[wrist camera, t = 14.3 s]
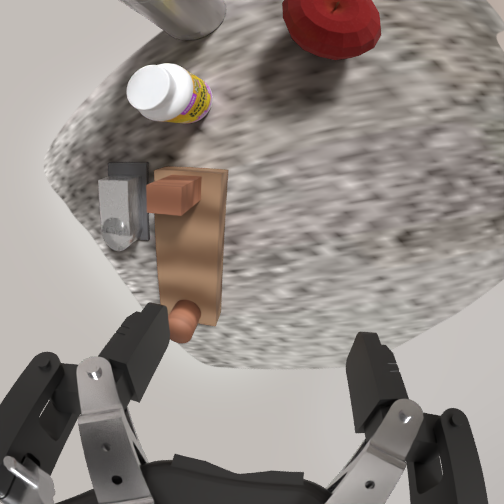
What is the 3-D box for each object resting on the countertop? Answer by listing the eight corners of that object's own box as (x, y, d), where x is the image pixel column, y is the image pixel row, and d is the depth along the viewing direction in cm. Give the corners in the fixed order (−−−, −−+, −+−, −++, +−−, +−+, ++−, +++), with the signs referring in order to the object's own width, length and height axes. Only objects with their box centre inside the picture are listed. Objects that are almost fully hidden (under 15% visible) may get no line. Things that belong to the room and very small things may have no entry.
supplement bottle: (207, 127, 34) (169, 125, 22) (163, 120, 34) (112, 118, 22) (219, 81, 31) (186, 57, 19) (174, 75, 31) (126, 55, 19)
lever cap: (113, 175, 37) (98, 180, 34) (141, 175, 37) (127, 180, 33) (116, 239, 42) (103, 248, 38) (143, 242, 41) (131, 253, 38)
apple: (379, 49, 26) (412, 22, 16) (322, 86, 30) (338, 65, 19) (324, -5, 24) (336, -48, 13) (266, 29, 27) (257, -10, 17)
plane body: (166, 166, 37) (126, 179, 27) (228, 169, 36) (205, 183, 26) (170, 303, 46) (145, 344, 36) (220, 312, 45) (204, 358, 35)
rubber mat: (110, 162, 37) (108, 163, 36) (148, 162, 37) (146, 162, 36) (114, 234, 42) (112, 235, 41) (149, 238, 41) (148, 240, 41)
